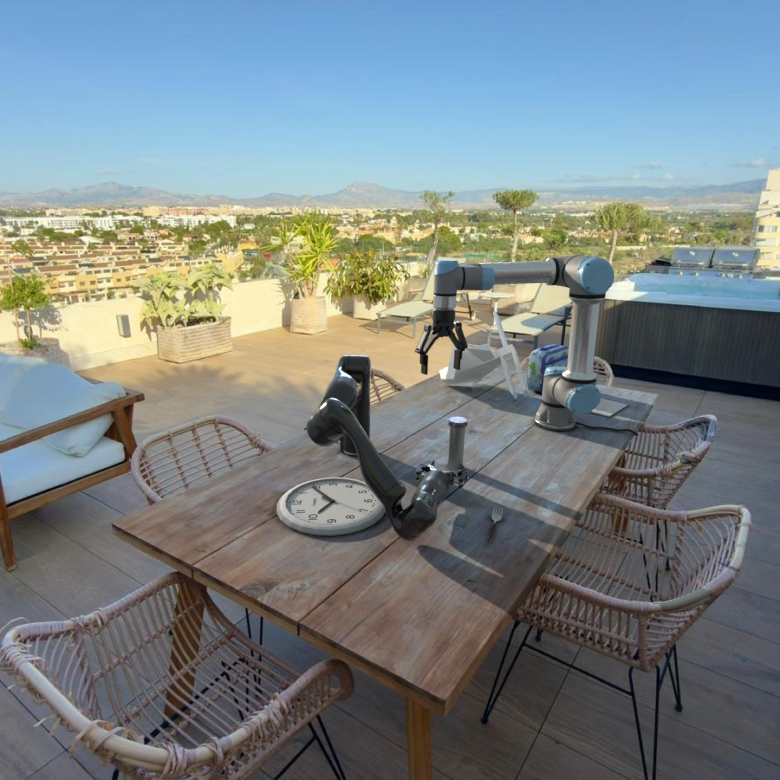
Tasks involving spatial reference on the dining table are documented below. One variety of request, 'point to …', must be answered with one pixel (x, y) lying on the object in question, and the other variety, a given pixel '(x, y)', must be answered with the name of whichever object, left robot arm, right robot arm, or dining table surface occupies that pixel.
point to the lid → (457, 422)
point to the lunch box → (545, 364)
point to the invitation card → (608, 407)
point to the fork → (494, 518)
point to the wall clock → (330, 507)
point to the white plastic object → (484, 363)
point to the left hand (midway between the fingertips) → (447, 464)
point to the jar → (456, 447)
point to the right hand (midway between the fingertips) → (440, 371)
